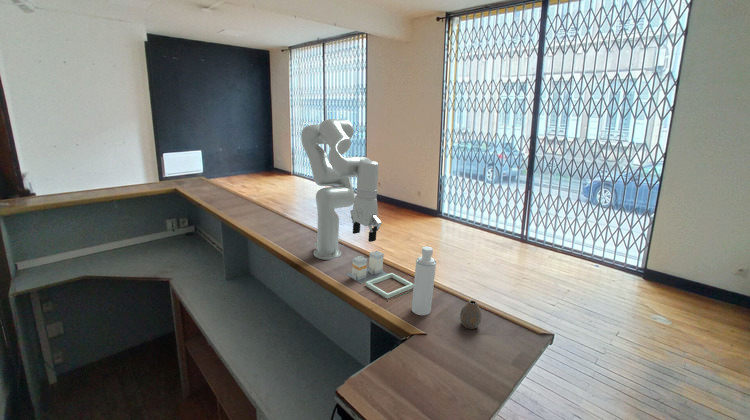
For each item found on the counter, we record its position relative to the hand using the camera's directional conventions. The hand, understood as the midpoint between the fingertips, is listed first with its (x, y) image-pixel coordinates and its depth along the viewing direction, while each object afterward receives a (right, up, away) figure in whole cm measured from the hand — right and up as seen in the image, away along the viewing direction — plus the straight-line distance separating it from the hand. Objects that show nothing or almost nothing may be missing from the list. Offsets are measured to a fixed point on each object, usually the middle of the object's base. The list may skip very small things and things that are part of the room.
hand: (364, 237), depth 144 cm
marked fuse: (-2, -16, +6) cm, 17 cm away
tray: (+10, -20, 0) cm, 23 cm away
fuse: (+4, -15, +11) cm, 19 cm away
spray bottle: (+20, -25, -13) cm, 35 cm away
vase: (+35, -28, -20) cm, 49 cm away
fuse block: (+1, -17, +9) cm, 19 cm away
